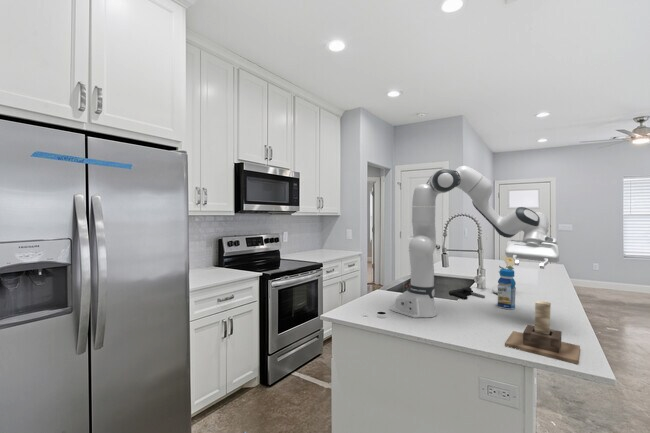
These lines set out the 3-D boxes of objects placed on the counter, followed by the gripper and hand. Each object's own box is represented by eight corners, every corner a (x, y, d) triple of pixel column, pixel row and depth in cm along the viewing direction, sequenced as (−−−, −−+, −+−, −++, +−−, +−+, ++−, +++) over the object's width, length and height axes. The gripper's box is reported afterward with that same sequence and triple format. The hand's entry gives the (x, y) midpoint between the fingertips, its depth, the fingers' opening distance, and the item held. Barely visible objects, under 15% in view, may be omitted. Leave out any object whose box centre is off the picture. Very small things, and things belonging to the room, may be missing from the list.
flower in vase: (493, 295, 196) (494, 254, 195) (490, 290, 207) (491, 251, 206) (518, 297, 192) (519, 255, 192) (513, 292, 203) (514, 252, 202)
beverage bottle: (518, 310, 168) (519, 271, 167) (502, 309, 168) (503, 271, 167) (509, 305, 176) (510, 268, 176) (493, 305, 176) (494, 268, 176)
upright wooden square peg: (534, 339, 123) (535, 302, 122) (535, 336, 125) (536, 300, 125) (548, 342, 120) (549, 304, 119) (549, 339, 123) (550, 302, 122)
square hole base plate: (504, 346, 124) (505, 330, 123) (513, 333, 136) (513, 319, 136) (578, 364, 109) (578, 346, 109) (579, 348, 122) (580, 333, 122)
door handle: (490, 293, 193) (466, 285, 207) (470, 297, 182) (446, 289, 196) (490, 298, 193) (465, 290, 207) (470, 303, 183) (445, 295, 196)
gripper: (507, 235, 152) (501, 258, 145) (560, 239, 139) (557, 265, 132) (508, 244, 156) (502, 267, 149) (561, 249, 143) (557, 274, 135)
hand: (528, 266), depth 140 cm, fingers open, 8 cm apart
